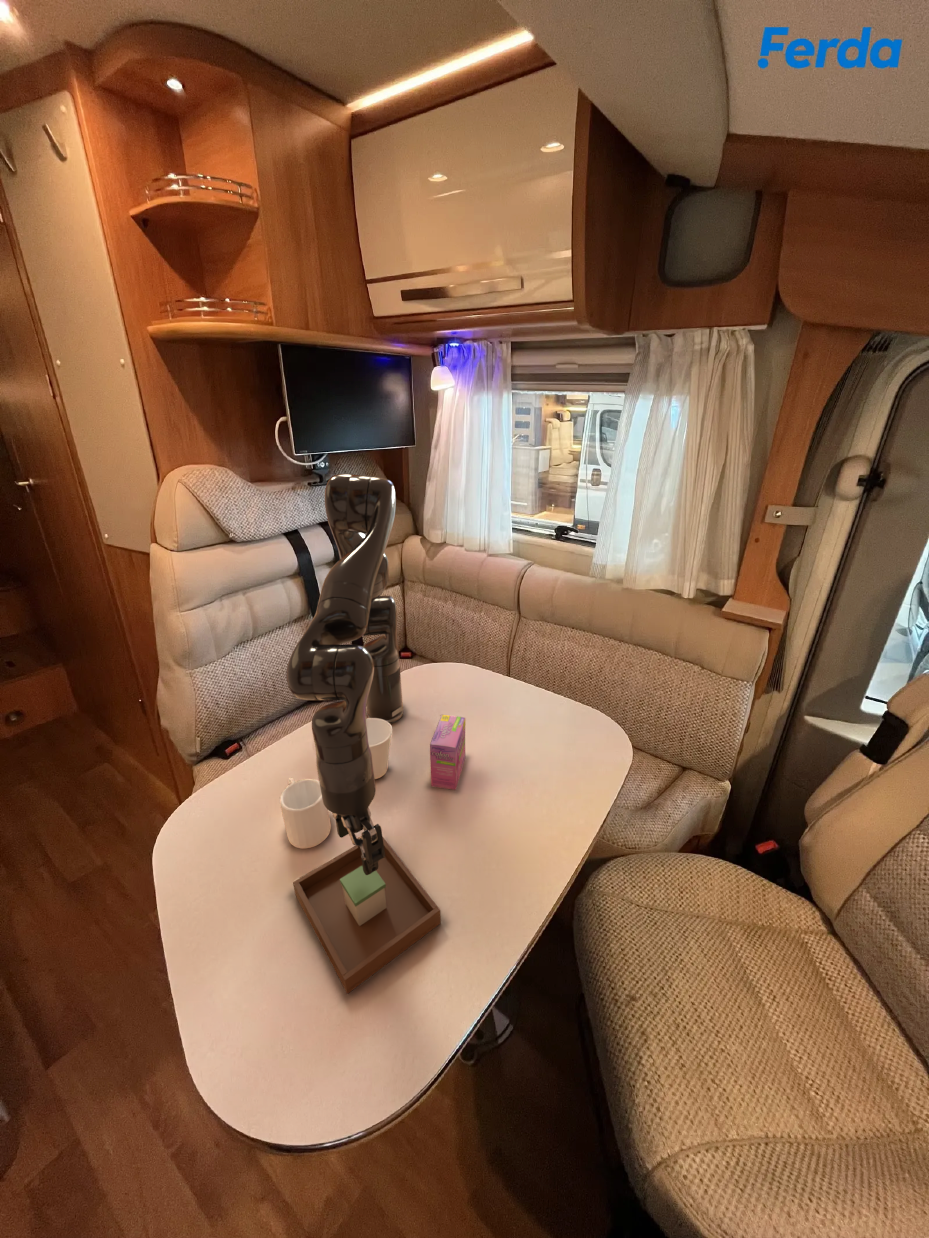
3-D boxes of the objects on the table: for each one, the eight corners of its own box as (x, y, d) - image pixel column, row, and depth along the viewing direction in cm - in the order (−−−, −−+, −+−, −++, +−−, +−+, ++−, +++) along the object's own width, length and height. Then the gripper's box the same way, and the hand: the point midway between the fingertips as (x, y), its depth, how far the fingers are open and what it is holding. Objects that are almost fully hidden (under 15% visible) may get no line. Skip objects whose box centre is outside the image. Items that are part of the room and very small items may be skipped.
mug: (313, 797, 105) (306, 761, 101) (337, 834, 97) (331, 796, 92) (275, 816, 101) (266, 779, 97) (297, 856, 92) (288, 817, 88)
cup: (342, 771, 112) (336, 732, 107) (377, 750, 119) (373, 712, 114) (369, 794, 106) (364, 753, 101) (405, 769, 113) (401, 730, 108)
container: (343, 903, 83) (339, 879, 80) (372, 884, 86) (369, 860, 84) (358, 928, 79) (355, 903, 77) (388, 908, 82) (385, 883, 80)
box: (456, 790, 107) (455, 747, 102) (430, 787, 108) (428, 743, 103) (466, 758, 116) (465, 716, 111) (442, 755, 117) (440, 713, 112)
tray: (295, 894, 85) (292, 881, 84) (380, 843, 95) (379, 831, 93) (347, 994, 71) (344, 980, 70) (441, 923, 81) (440, 909, 79)
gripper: (395, 788, 67) (402, 869, 74) (347, 735, 77) (358, 811, 84) (344, 816, 63) (357, 899, 70) (300, 756, 73) (315, 834, 80)
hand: (357, 851), depth 77 cm, fingers open, 8 cm apart
